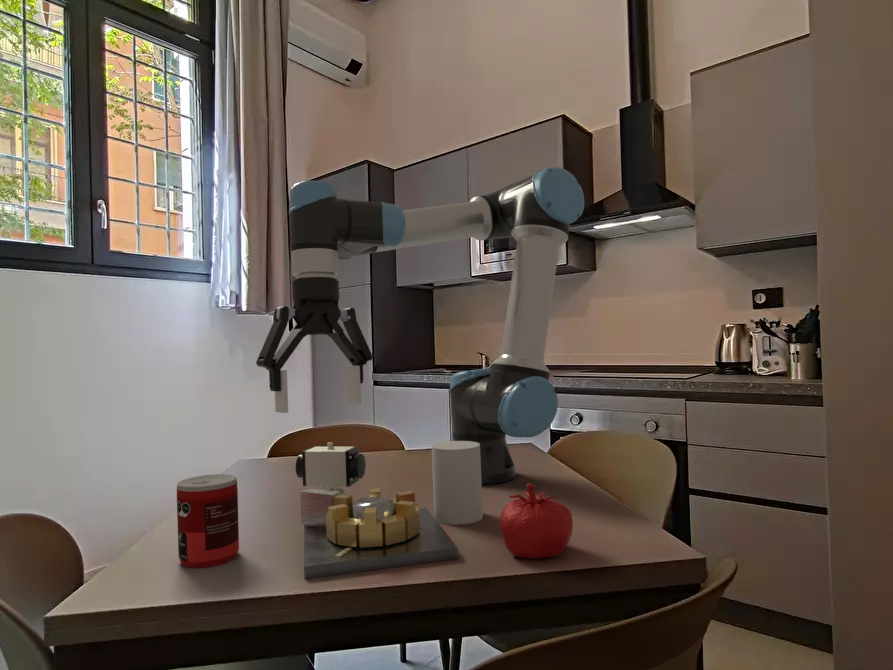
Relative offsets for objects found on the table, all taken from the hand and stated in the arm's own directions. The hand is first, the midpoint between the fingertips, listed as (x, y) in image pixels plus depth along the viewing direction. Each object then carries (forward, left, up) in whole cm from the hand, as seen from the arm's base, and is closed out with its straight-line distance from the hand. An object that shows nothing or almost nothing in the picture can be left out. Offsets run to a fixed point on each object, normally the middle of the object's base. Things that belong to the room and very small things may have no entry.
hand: (320, 407), depth 93 cm
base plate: (-7, +11, -19) cm, 23 cm away
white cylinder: (-22, +3, -20) cm, 29 cm away
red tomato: (-28, +22, -20) cm, 40 cm away
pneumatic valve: (-2, -10, -20) cm, 22 cm away
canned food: (+16, +9, -20) cm, 27 cm away
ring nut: (-5, +9, -18) cm, 20 cm away
